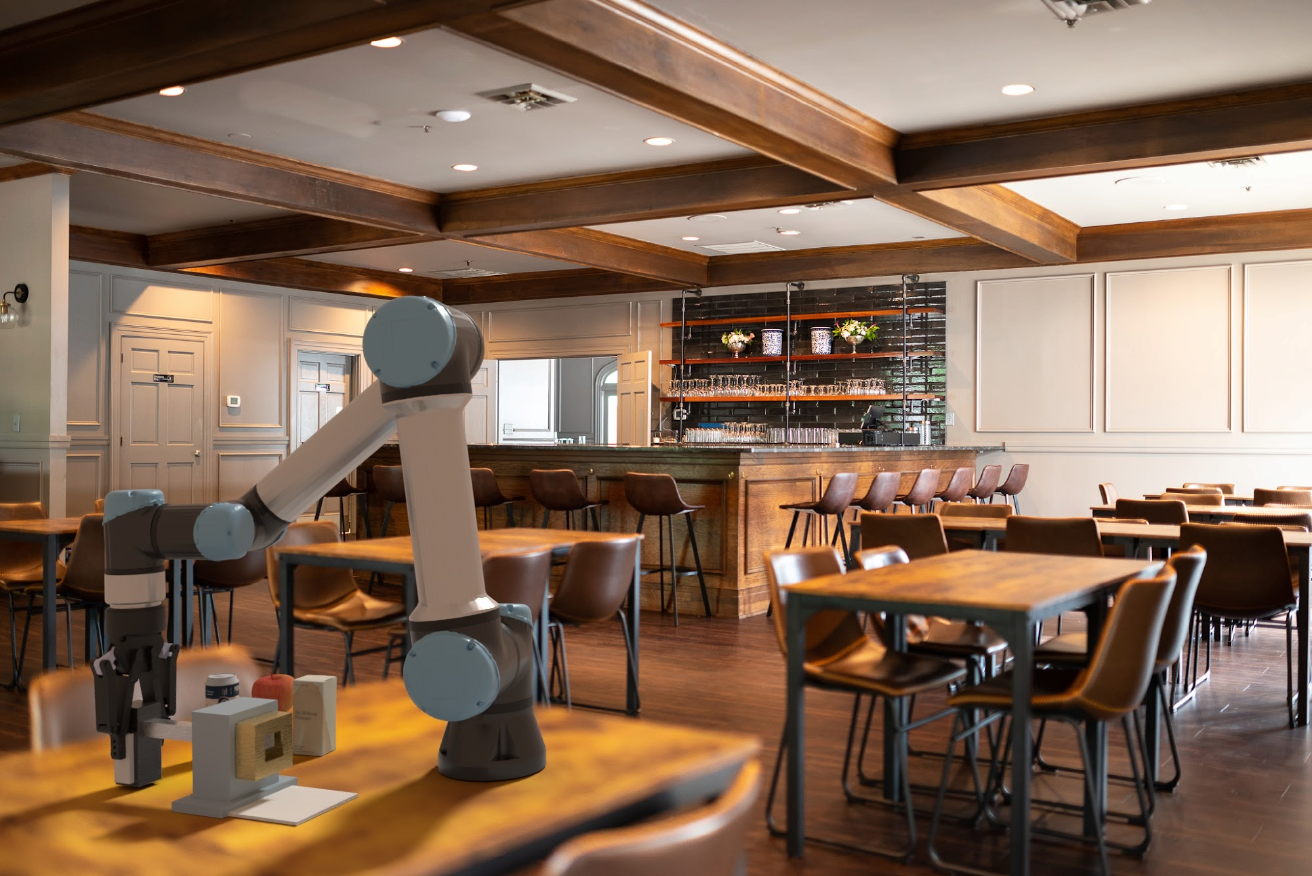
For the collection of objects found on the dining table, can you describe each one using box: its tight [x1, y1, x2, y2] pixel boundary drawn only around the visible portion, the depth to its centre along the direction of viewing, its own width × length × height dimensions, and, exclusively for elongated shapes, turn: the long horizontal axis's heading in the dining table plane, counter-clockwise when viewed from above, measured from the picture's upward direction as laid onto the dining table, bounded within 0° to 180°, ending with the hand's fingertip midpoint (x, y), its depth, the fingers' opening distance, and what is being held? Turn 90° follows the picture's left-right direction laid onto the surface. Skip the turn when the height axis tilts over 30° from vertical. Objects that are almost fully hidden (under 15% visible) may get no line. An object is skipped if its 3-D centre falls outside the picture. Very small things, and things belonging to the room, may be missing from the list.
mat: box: [227, 785, 359, 826], centre depth 147 cm, size 11×12×1 cm
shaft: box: [115, 699, 274, 788], centre depth 153 cm, size 24×4×10 cm, turn 68°
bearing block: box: [171, 696, 299, 819], centre depth 150 cm, size 8×14×12 cm, turn 158°
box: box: [292, 674, 338, 757], centre depth 173 cm, size 5×4×11 cm
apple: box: [250, 670, 296, 712], centre depth 195 cm, size 7×7×8 cm
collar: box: [236, 711, 294, 781], centre depth 149 cm, size 3×7×7 cm, turn 158°
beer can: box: [204, 672, 240, 708], centre depth 170 cm, size 5×5×12 cm
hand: (138, 777), depth 157 cm, fingers closed on shaft, 4 cm apart
